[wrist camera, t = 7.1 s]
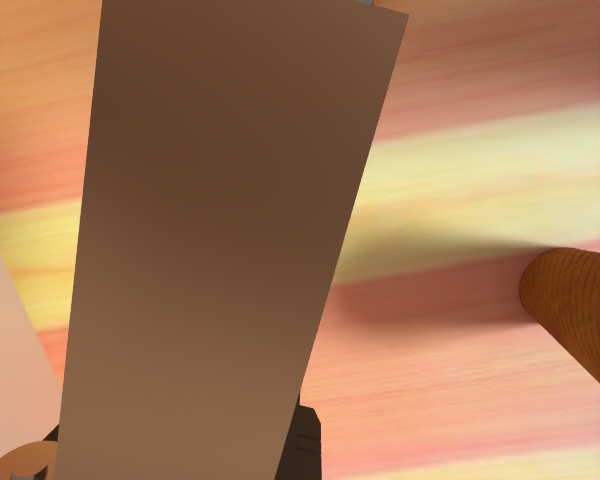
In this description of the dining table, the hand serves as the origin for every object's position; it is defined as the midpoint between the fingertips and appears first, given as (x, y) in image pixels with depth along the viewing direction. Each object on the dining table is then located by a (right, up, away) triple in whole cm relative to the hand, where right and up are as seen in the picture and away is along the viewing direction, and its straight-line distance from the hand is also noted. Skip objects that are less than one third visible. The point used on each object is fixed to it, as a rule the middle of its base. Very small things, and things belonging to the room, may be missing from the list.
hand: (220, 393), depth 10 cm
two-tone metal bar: (0, 0, 0) cm, 0 cm away
